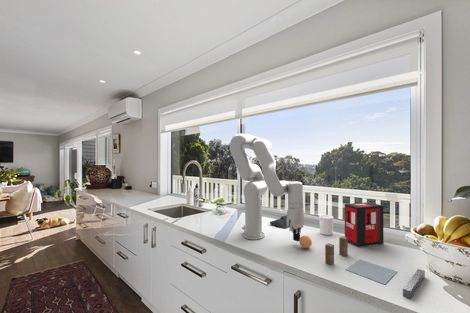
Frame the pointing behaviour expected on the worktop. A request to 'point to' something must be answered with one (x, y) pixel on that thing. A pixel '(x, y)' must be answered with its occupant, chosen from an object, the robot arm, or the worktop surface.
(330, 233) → the white cup
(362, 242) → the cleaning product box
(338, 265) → the worktop surface
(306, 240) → the ball
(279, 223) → the dark slate chunk
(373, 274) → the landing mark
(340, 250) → the post
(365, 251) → the worktop surface
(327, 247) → the post
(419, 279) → the wall
